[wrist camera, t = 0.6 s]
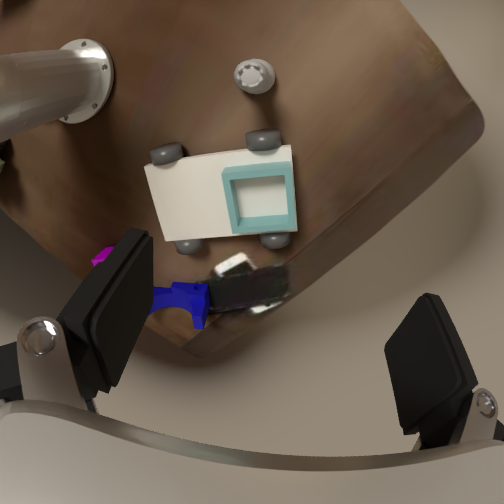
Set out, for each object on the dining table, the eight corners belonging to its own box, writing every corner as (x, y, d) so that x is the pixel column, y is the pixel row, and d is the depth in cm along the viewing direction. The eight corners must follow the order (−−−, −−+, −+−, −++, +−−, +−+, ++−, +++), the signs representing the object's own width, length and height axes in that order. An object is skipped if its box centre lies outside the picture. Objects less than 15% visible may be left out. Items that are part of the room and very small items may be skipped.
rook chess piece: (258, 101, 31) (253, 107, 25) (229, 79, 30) (215, 79, 23) (283, 74, 29) (285, 73, 23) (253, 51, 28) (246, 44, 21)
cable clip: (208, 283, 48) (200, 309, 43) (210, 303, 50) (203, 329, 45) (141, 278, 48) (128, 301, 43) (147, 297, 51) (135, 321, 46)
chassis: (175, 240, 43) (163, 262, 39) (149, 147, 35) (131, 159, 31) (297, 231, 41) (299, 253, 36) (288, 127, 33) (290, 135, 28)
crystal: (104, 265, 48) (93, 282, 44) (103, 241, 45) (90, 256, 41) (130, 273, 48) (119, 291, 44) (130, 248, 45) (118, 265, 41)
